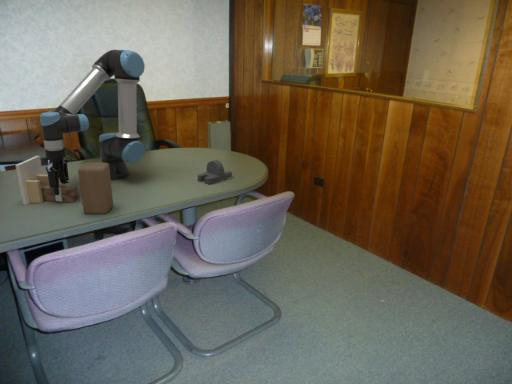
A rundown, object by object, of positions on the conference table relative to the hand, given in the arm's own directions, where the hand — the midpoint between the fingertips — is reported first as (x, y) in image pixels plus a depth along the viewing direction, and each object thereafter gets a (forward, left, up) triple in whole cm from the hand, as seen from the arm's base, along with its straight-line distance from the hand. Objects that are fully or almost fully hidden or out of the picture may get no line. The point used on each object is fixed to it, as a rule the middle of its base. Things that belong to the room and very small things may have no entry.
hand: (62, 199), depth 172 cm
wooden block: (-21, +8, -1) cm, 22 cm away
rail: (+2, 0, 0) cm, 2 cm away
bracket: (-64, -41, -1) cm, 76 cm away
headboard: (+9, 0, -1) cm, 10 cm away
